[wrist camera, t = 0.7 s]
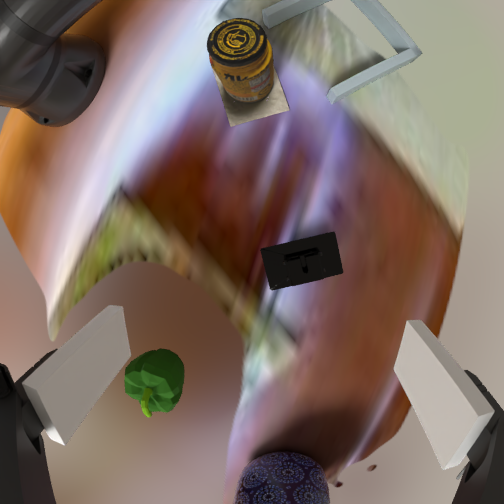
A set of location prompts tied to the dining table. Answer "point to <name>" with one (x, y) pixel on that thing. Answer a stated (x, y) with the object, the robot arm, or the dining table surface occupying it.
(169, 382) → the bell pepper
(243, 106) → the condiment
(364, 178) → the dining table surface
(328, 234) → the black angular block
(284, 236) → the dining table surface
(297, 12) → the bay
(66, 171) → the dining table surface
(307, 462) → the planter
